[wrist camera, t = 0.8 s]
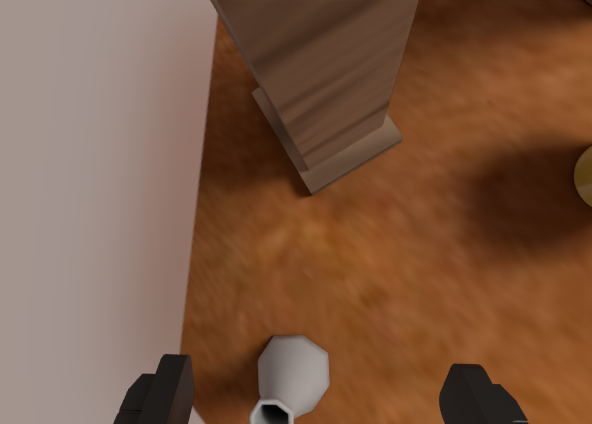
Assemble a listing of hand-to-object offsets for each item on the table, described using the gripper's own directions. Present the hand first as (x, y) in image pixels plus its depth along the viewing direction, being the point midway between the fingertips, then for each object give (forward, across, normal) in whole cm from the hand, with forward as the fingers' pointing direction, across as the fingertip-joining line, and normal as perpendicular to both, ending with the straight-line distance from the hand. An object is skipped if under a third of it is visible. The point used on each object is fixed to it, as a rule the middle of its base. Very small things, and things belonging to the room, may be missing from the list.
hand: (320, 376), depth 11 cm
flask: (+15, -1, +20) cm, 25 cm away
